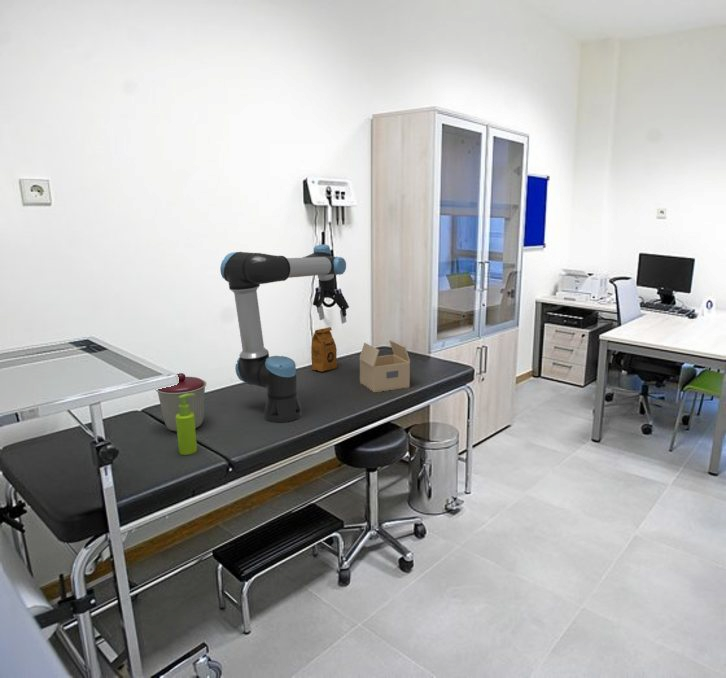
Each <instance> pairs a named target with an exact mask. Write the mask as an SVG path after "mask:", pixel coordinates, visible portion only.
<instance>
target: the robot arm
mask: <svg viewBox="0 0 726 678" xmlns="http://www.w3.org/2000/svg"><path fill="white" fill-rule="evenodd" d="M219 270H220V274H221V277H222V279H224V281H226V282H227V283H228V287H229V290H230V291H231V292H232V293H233V294H234V302H235V308H236V315H237V321H238V329H239V333H240V335H239V336H240V343H241V349H242V350H241V352H240V353H239V358H238V359H237V360H236V363H235V373H236V376H237V378H238V379H239V380H240V381H242V382H243V383H245V384H248V385H249V386H256V387H261V388H265V389H266V394H267V395H266V397H267V398H266V402H265V405H264V409H263V418H264V420H266V421H269V422H272V423H287V422H288V421H289V422H293V421H295V419H296V420H298V419H300V418H301V417H302V415H303V412H302V411H303V409H302V406H301V404H300V401H299V398H298V394H297V393H298V392H297V391H298V390H297V387H298V386H297V367H296V362H295V360H293V359H292V358H291V357H289V356H288V357H287V356H284V355H272V356H270V354H269V350H268V349H267V348H266V347H265V345H264V336H263V329H262V321H261V313H260V308H259V307H260V306H259V300H258V299H259V298H258V292H257V291H258V289H259V287H260V285H264V284H265V285H266V284H270V283H272V284H273V283H277V282H285V281H287V280H288V279H292V278H300V277H312V276H313V277H314V276H317V279H318V285H319V286H317V287H315V288H314V289H315V294H314V296H313V297H314V298H313V302H312V305H313V306H314V307H316V310H317V312H316V313H317V314H318V318H319V321H322V320H324V319H325V314H324V313H325V312H324V307H323V305H322V304H323V302H324V300H325V299H331V300H333V301H334V303H335V304H336V305H337V306H338V308H339V309H340V310H339V314H340V320H341V324H345V323H347V309H349V308H350V306H349V304H348V302H347V300H346V298H345V296H344V295H343V293H342V289H341V288H338V289H336V279H335V275H336V276H339V275H340V276H341V275H343V274H345V272H346V270H347V262H346V260H345V258H344V257H342V256H332V251H331V246H330V245H328V244H317V245H315V246H314V247H313V253H310V254H307V255H305V256H302V257H286V256H284V255H274V254H266V253H261V252H244V251H234V252H229V253H228V254H226V255H225V256H224V258H223V259H222V260H221V263H220V269H219ZM292 420H293V421H292Z"/></svg>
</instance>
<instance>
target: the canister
mask: <svg viewBox="0 0 726 678" xmlns="http://www.w3.org/2000/svg"><path fill="white" fill-rule="evenodd" d="M176 375H178V377H179V383H178V384H177V385H174V386H171V387H166V388H162V389H158V390H156V389H155V391H156V392H157V394H158V400H159V403H160V405H159V406H160V408H161V414H162V416H163V420H164V424H165V426H166V428H168V430H169V431H173V432H177V425H176V415H177V414H179V405H180V404H181V399H179V398H178V396H181V395H183V394H187V393H193V394H195V396H190V397H187V398H186V402H187V403H188V404H189V406H190V412H192V413H194V418H195V429H198V427H201V425H202V424H203V421H204V415H205V414H204V412H205V396H206V392H205V390H206V388H205V387H206V386H207V381H205V380H203V379H202V378H199V377H195V376H186V374H185V373H182V372H180V373H176Z"/></svg>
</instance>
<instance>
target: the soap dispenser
mask: <svg viewBox="0 0 726 678" xmlns="http://www.w3.org/2000/svg"><path fill="white" fill-rule="evenodd" d="M190 396H195V394H193V393H187V394H183V395H181V396H178V398H179V399H181V404H180V405H179V414H177V415H176V425H177V431H176V433H177V444H178V445H177V446H178V453H179V454H180V455H183V456H189V455H193V454H195V453H197V452H198V443H197V433H196V432H197V431H196V428H195V418H194V413H192V412H190V406H189V404H188V403H187V402H186V398H187V397H190Z"/></svg>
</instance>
